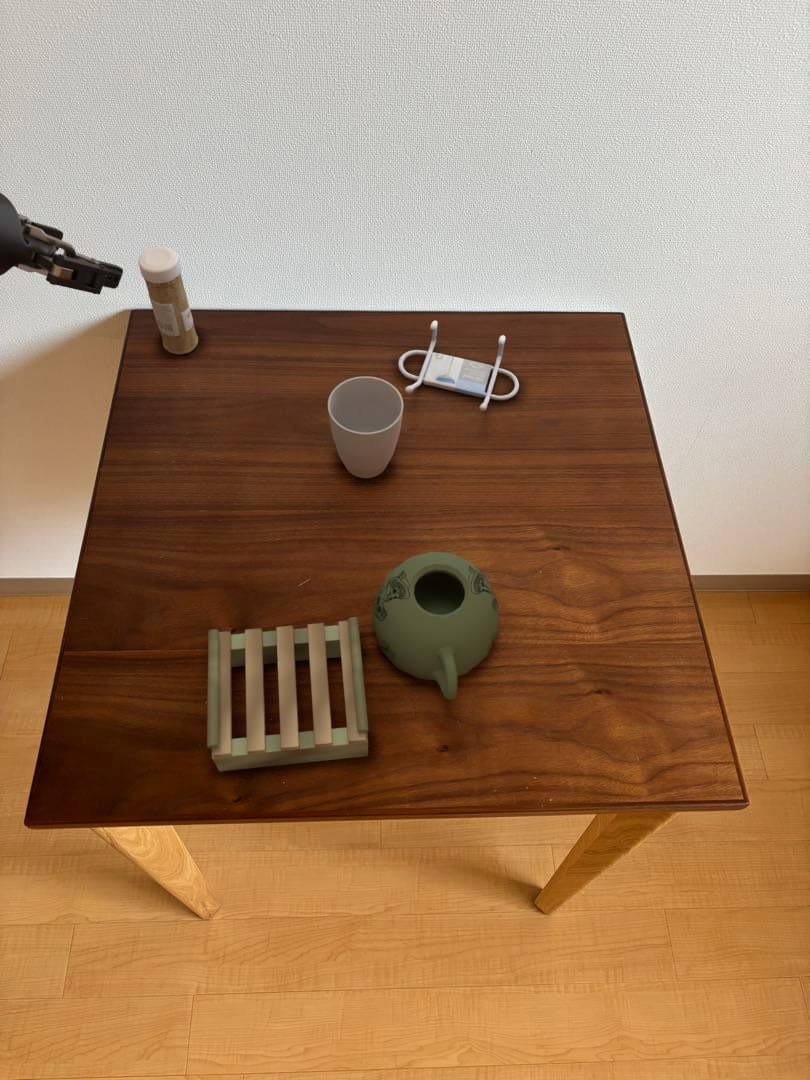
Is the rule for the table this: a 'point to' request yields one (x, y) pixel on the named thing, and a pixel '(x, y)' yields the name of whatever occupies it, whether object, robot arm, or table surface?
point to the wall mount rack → (458, 372)
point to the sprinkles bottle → (168, 298)
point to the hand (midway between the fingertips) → (87, 258)
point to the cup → (365, 423)
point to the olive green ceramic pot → (436, 618)
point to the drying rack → (285, 695)
